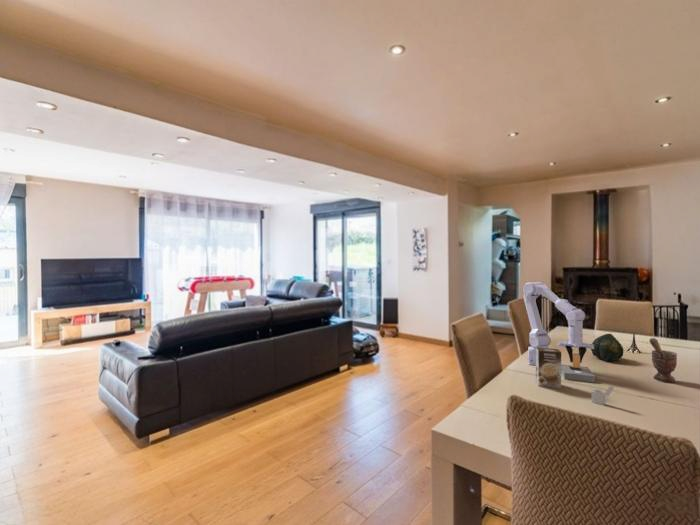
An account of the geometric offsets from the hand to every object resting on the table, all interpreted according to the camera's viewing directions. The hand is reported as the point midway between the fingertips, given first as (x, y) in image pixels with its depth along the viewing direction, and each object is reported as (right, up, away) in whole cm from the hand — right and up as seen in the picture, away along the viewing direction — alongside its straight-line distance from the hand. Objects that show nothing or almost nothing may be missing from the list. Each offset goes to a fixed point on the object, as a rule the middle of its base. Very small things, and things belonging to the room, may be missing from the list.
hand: (575, 362), depth 168 cm
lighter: (-11, -7, -33) cm, 36 cm away
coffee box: (-21, -7, -13) cm, 25 cm away
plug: (0, -2, 0) cm, 2 cm away
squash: (+34, -6, +25) cm, 42 cm away
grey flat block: (-1, -6, -2) cm, 7 cm away
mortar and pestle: (+34, -6, -9) cm, 36 cm away
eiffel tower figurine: (+61, -6, +39) cm, 72 cm away
